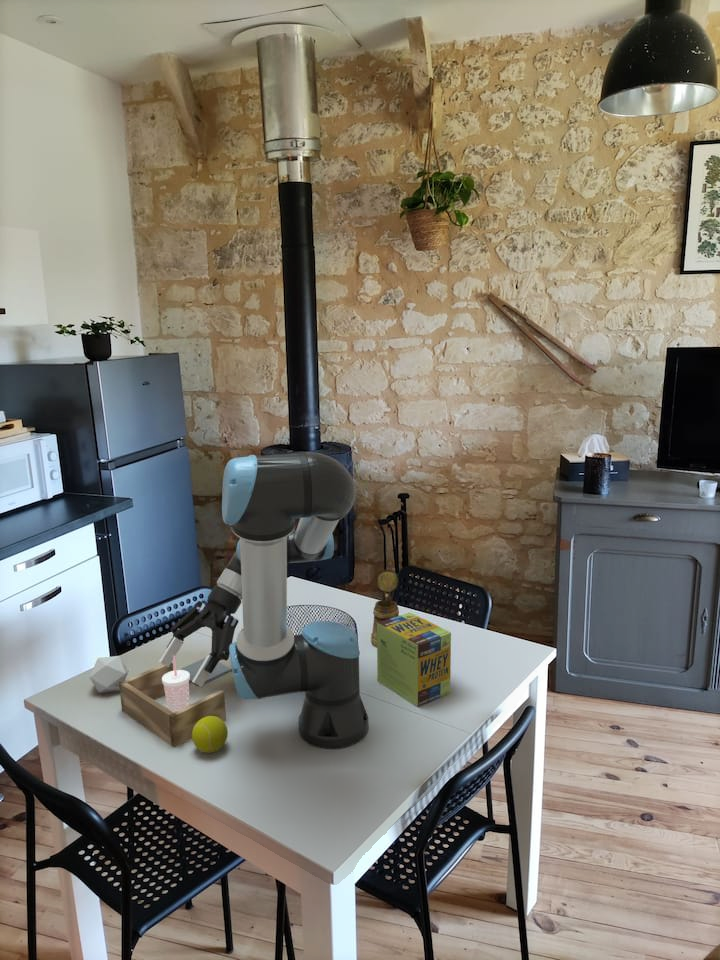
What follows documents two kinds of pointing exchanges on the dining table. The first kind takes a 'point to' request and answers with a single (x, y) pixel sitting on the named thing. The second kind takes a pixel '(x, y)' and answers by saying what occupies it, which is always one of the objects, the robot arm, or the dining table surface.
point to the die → (108, 674)
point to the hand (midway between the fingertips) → (179, 674)
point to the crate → (157, 717)
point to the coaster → (216, 673)
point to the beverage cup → (176, 688)
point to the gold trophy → (385, 601)
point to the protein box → (414, 658)
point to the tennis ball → (209, 734)
